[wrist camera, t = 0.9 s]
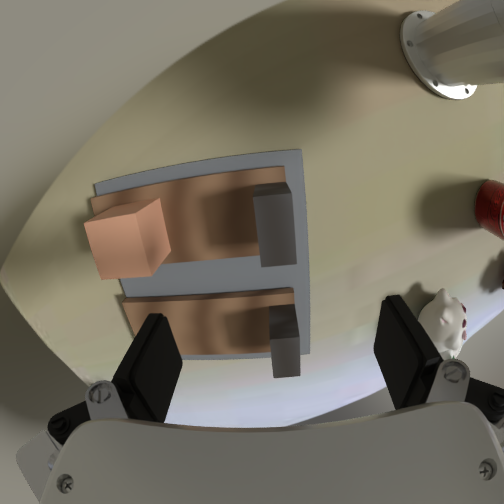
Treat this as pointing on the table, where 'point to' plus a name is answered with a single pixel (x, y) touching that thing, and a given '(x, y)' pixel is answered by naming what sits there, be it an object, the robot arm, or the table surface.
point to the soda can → (491, 207)
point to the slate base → (230, 269)
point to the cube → (129, 240)
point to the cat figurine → (445, 324)
